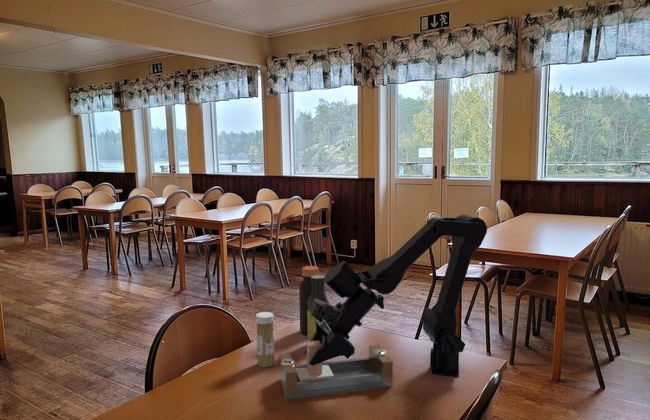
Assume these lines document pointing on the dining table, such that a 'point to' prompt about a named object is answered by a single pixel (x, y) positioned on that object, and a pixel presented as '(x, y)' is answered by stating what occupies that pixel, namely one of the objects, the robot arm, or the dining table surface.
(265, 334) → the sprinkles bottle
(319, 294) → the sauce bottle
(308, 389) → the rail
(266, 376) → the dining table surface
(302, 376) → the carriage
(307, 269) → the vinegar
